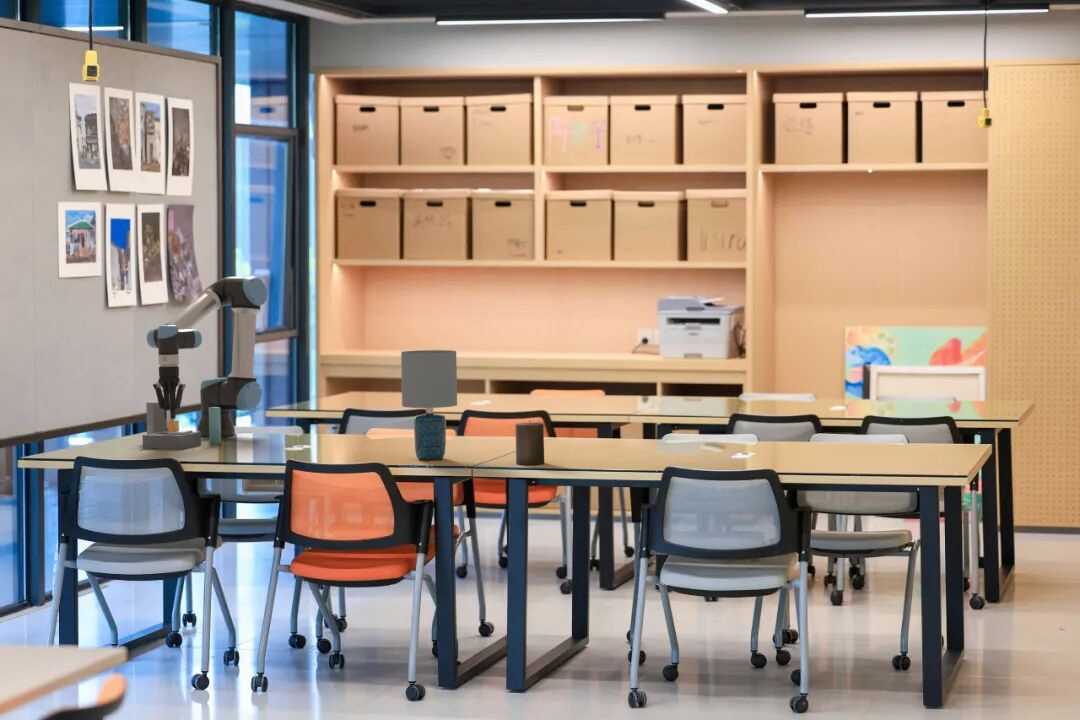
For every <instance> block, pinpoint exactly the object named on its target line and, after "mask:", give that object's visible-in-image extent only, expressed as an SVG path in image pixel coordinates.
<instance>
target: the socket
mask: <svg viewBox="0 0 1080 720" xmlns="http://www.w3.org/2000/svg"><path fill="white" fill-rule="evenodd" d="M167 432H169V431H161V432H156V433H151V434H147V433H146V434H143V435H141V436H142V449H145V448H167V449H166V450H184V449H188V447H189V448H191V447H192V446H193V447H196V446H201V445H202V436H201V432H197V431H192V433H187V434H168V433H167Z"/></svg>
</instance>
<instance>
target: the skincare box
mask: <svg viewBox="0 0 1080 720" xmlns="http://www.w3.org/2000/svg"><path fill="white" fill-rule="evenodd" d="M145 405H146V406H145V407H146V434H151V433H156V432H161V431H168V428H167V419H165V411H164V409H161V408H160V407H159V403H158V401H156V402H154V401H153V402H146V403H145Z"/></svg>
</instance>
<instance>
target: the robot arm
mask: <svg viewBox="0 0 1080 720" xmlns="http://www.w3.org/2000/svg"><path fill="white" fill-rule="evenodd" d="M267 300H268V288H267V286H266V284H265V283H264V281H263V280H262V279H261V278H260V277H257V276H250V275H247V276H226V277H223V278H221V279H218V280H217V281H215V282H214V283H212V284H210V285H209V286H207V287H206V288H205V289H204V290H202V292H201V293H200V296H199V297H198V298H196V300H194V301H193V302H192V303H190V304H189V305H187V306H186V307H185V308H184V309H182V310H181V311H180V312H178V314H176V315H175V316H174V317H172V318H171V319H170V320H169V321H167V322H166V323H164V325H163V324H162V325H158V327H157V328H151V329H150V330H149V331H148V332H147V334H146V342H147V344H148V346H149V347H150V348H153V349H158V352H157V353H158V365H159V366H158V376H159V377H158V381H157V382H156V383H153V384H152V387H153V389H154V390H155V393H156V398H157V402H158V403H159V407H160V408H161V409H164V411H165V419H167V428H168V421H172V420H175V419H176V410H178V409H180V408H181V404H182V398H183V393H184V390H185V388H186V383H182V382H181V380H180V377H179V376H180V366H178V365H179V363H180V362H179V361H180V359H179V350H193V349H197V348H199V347H200V346H201V344H202V342H203V336H202V333H201V332H200V330H198V329H195V328H193V327H194V326H195V325H196V324H198V323H199V322H200V321H201V320H203V319H205V318H206V317H207V316H208V315H209V314H211V313H212V312H213V311H214V312H215V311H218V310H219V309H221V308H223V307H226V306H231V307H230V308H231V311H233V313H234V319H233V320H234V322H233V340H232V342H233V343H232V356H231V358H232V359H231V361H232V362H231V372H230V373H229V374H228V375H227V377H218V378H211V379H210V378H209V379H204V380H201V383H200V390H199V392H200V415H201V416H200V420H199V423H198V425H197V431H196V432H201V437H209V408H210V407H220V416H221V437H228V436H234V435H235V434H236V428H235V425H234V421H233V419H232V416H231V411H241V412H242V411H243V412H246V411H253V410H254V409H256V408H257V406H258V405H259V404H260V402H261V400H262V396H263V391H262V389H263V388H262V387H261V384H260V383H258V382H257V376H256V375H255V374H254V362H255V360H254V359H255V345H256V344H255V343H256V326H257V323H256V322H257V315H258V314H259V313H260V312H261V306H262V305H264V304H266V301H267ZM192 328H193V329H192Z"/></svg>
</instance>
